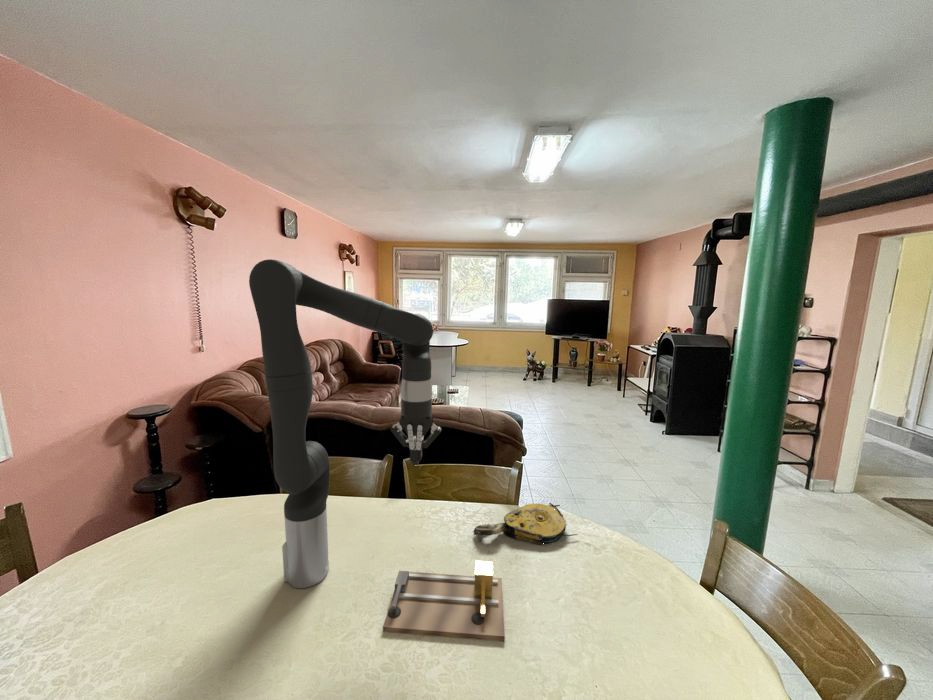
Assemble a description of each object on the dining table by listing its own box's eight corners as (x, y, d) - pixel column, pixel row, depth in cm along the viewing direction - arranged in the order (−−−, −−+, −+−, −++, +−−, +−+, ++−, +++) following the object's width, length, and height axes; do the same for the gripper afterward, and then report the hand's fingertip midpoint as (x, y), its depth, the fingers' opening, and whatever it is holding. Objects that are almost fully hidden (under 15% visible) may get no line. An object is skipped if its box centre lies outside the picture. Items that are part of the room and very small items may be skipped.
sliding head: (473, 620, 76) (474, 595, 75) (474, 583, 85) (475, 560, 84) (492, 622, 75) (493, 597, 74) (491, 584, 85) (492, 562, 84)
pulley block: (468, 504, 109) (559, 495, 115) (467, 519, 111) (557, 509, 117) (480, 541, 96) (581, 529, 102) (478, 558, 97) (578, 545, 104)
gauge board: (383, 631, 74) (382, 617, 74) (400, 575, 89) (400, 562, 88) (504, 641, 73) (505, 626, 72) (501, 582, 88) (502, 569, 87)
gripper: (385, 399, 85) (386, 467, 88) (441, 401, 84) (440, 470, 87) (393, 390, 92) (394, 454, 95) (445, 393, 91) (443, 456, 94)
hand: (416, 461), depth 91 cm, fingers closed
